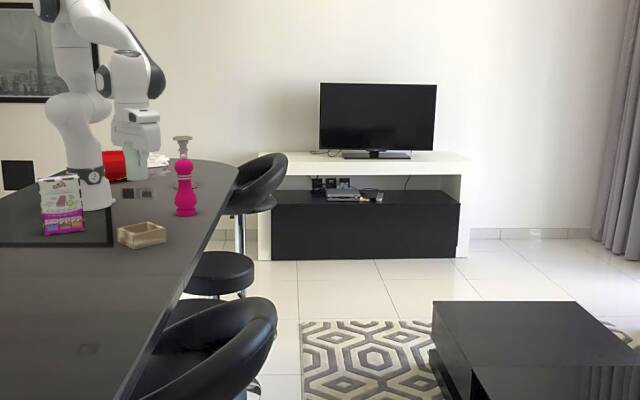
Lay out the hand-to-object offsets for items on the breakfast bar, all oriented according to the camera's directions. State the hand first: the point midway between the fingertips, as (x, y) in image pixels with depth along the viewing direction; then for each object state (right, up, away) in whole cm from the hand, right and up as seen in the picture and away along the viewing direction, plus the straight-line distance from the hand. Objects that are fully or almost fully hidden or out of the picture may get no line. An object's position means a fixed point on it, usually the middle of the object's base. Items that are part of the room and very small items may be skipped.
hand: (136, 165), depth 148 cm
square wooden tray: (0, -21, +5) cm, 22 cm away
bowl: (-41, 0, +88) cm, 97 cm away
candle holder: (-4, -5, +72) cm, 72 cm away
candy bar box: (-26, -19, +14) cm, 35 cm away
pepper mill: (+5, -14, +34) cm, 37 cm away
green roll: (0, -4, +1) cm, 4 cm away
